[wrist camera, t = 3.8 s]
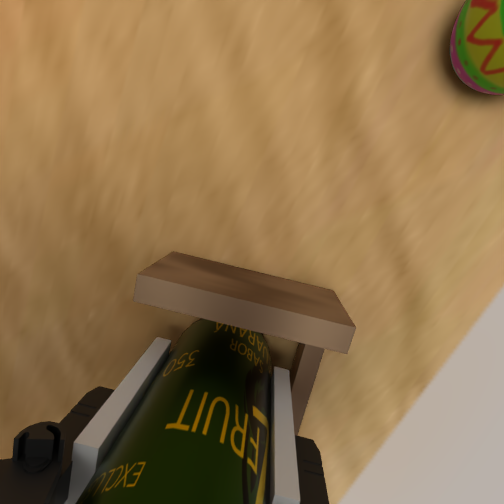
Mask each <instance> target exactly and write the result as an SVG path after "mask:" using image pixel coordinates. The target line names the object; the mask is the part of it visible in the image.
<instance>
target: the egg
mask: <svg viewBox="0 0 504 504" xmlns="http://www.w3.org/2000/svg"><path fill="white" fill-rule="evenodd" d="M450 58H451V63H452V66H453V69H454V71H455V73H456V74H457V76H458V77H459V79H460V80H461V81H462V82H463V83H465V84H466V85H467V86H469V87H470V88H472V89H474V90H476V91H479V92H482V93H486V94H493V95H504V0H466V1H465V3H464V5H463V6H462V8H461V10H460V12H459V14H458V16H457V19H456V21H455V24H454V27H453V30H452V34H451V40H450Z"/></svg>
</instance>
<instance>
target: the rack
mask: <svg viewBox="0 0 504 504" xmlns="http://www.w3.org/2000/svg"><path fill="white" fill-rule="evenodd" d="M133 301H134V302H138V303H142V304H146V305H150V306H154V307H158V308H162V309H166V310H170V311H175V312H179V313H183V314H187V315H191V316H195V317H199V318H203V319H207V320H211V321H215V322H219V323H223V324H227V325H231V326H235V327H239V328H243V329H247V330H251V331H255V332H259V333H263V334H267V335H271V336H275V337H279V338H283V339H287V340H292V341H296V342H299V345H298V349H297V352H296V355H295V359H294V362H293V366H292V369H291V372H290V388H291V399H292V411H293V422H294V434H295V435H296V436H297V435H298V432H299V428H300V425H301V422H302V419H303V416H304V413H305V409H306V406H307V403H308V400H309V397H310V394H311V390H312V387H313V384H314V381H315V378H316V375H317V371H318V368H319V365H320V362H321V359H322V355H323V352H324V349H328V350H332V351H336V352H340V353H344V354H347V353H348V350H349V347H350V344H351V341H352V338H353V335H354V332H355V329H356V327H355V325H354V323H353V322H352V320H351V319H350V317H349V315H348V314H347V312H346V310H345V309H344V307H343V305H342V304H341V302H340V300H339V299H338V297H337V295H336V294H335V292H334V291H332V290H328V289H324V288H320V287H316V286H312V285H308V284H304V283H299V282H295V281H291V280H287V279H283V278H279V277H275V276H271V275H267V274H263V273H259V272H254V271H250V270H246V269H242V268H238V267H234V266H230V265H226V264H222V263H218V262H214V261H210V260H205V259H201V258H197V257H193V256H189V255H185V254H181V253H177V252H172V253H170V254H168V255H167V256H165V257H164V258H162V259H160V260H159V261H157V262H156V263H154V264H152V265H151V266H149V267H148V268H146V269H144V270H143V271H141V272H140V273H138V274H137V280H136V286H135V292H134V298H133Z"/></svg>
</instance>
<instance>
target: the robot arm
mask: <svg viewBox="0 0 504 504" xmlns="http://www.w3.org/2000/svg"><path fill="white" fill-rule="evenodd" d="M170 345H171V340H168V339H164V338H160V337H156V339H155V340H154V341H153V342H152V344H151V345H150V346H149V348H148V349H147V350H146V351H145V353H144V354H143V355H142V356H141V358H140V359H139V360H138V361H137V363H136V364H135V365H134V367H133V368H132V369H131V370H130V372H129V373H128V374H127V375H126V377H125V378H124V379H123V380H122V382H121V383H120V384H119V386H118V387H117V388H116V389H115V390H112V389H108V388H104V387H101V386H99V387H97V388H95V389H93V390H92V391H90V392H88V393H87V394H86V395H85V396H84V397H83V398H82V399H81V400H80V401H79V402H78V404H77V405H76V406H75V407H74V408H73V409H72V410H71V412H70V413H68V414H67V415H66V417H65V418H64V419H63V420H62V421H61V422H60V423H55V422H50V421H49V422H40V423H37V424H34V425H31V426H29V427H27V428H25V429H24V430H22V431H21V432H20V433H19V434H18V435H17V436H16V437H15V438H14V445H13V458H11V459H4V460H0V504H64V503H65V502H66V504H75V503H76V502H77V500H78V499H79V497H80V495H81V494H82V492H83V491H84V489H85V487H86V486H87V484H88V483H89V481H90V480H91V478H92V476H93V475H94V473H95V472H96V470H97V468H98V467H99V465H100V464H101V462H102V461H103V459H104V457H105V456H106V454H107V453H108V451H109V449H110V448H111V446H112V445H113V443H114V441H115V440H116V438H117V437H118V435H119V434H120V432H121V430H122V429H123V427H124V426H125V424H126V422H127V421H128V419H129V418H130V416H131V415H132V413H133V411H134V410H135V408H136V407H137V405H138V403H139V402H140V400H141V399H142V397H143V396H144V394H145V392H146V391H147V389H148V388H149V386H150V384H151V383H152V381H153V380H154V378H155V376H156V375H157V373H158V372H159V370H160V369H161V367H162V365H163V364H164V362H165V361H166V359H167V357H168V356H169V350H170ZM270 504H329V500H328V495H327V489H326V483H325V478H324V472H323V467H322V461H321V455H320V451H319V449H318V448H317V446H316V444H315V443H314V441H313V440H311V439H307V438H304V437H300V436H296V435H295V434H294V422H293V411H292V399H291V388H290V376H289V370H287V369H283V368H279V367H275V366H274V369H273V373H272V376H271V432H270Z"/></svg>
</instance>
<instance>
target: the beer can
mask: <svg viewBox="0 0 504 504" xmlns="http://www.w3.org/2000/svg"><path fill="white" fill-rule="evenodd" d="M270 432H271V357H270V351H269V347H268V345H267V343H266V342H265V340H264V338H263V336H262V335H261V334H260V333H259V332H255V331H251V330H247V329H243V328H239V327H235V326H231V325H227V324H223V323H219V322H215V321H211V320H207V319H201V320H199V321H197V322H195V323H193V324H192V325H191V326H190V327H189V328H188V329H187V330H186V331H185V332H184V333H183V334H182V335H181V337H180V338H179V340H178V342H177V343H176V345H175V346H174V348H173V350H172V351H171V353H170V354H169V356H168V357H167V359H166V361H165V362H164V364H163V365H162V367H161V369H160V370H159V372H158V373H157V375H156V376H155V378H154V380H153V381H152V383H151V384H150V386H149V388H148V389H147V391H146V392H145V394H144V396H143V397H142V399H141V400H140V402H139V403H138V405H137V407H136V408H135V410H134V411H133V413H132V415H131V416H130V418H129V419H128V421H127V422H126V424H125V426H124V427H123V429H122V430H121V432H120V434H119V435H118V437H117V438H116V440H115V441H114V443H113V445H112V446H111V448H110V449H109V451H108V453H107V454H106V456H105V457H104V459H103V461H102V462H101V464H100V465H99V467H98V468H97V470H96V472H95V473H94V475H93V476H92V478H91V480H90V481H89V483H88V484H87V486H86V487H85V489H84V491H83V492H82V494H81V495H80V497H79V499H78V500H77V502H76V503H75V504H270Z"/></svg>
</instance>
